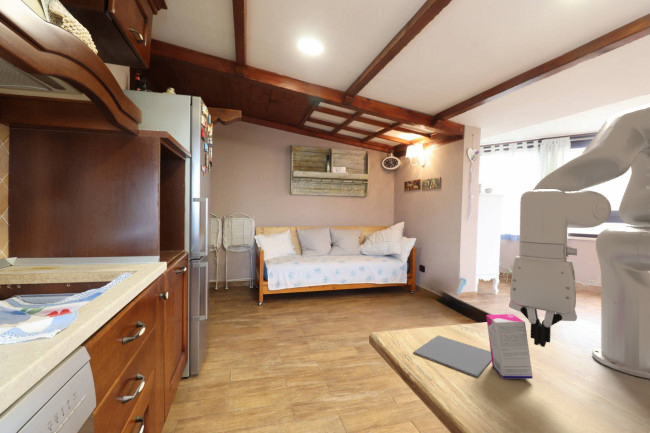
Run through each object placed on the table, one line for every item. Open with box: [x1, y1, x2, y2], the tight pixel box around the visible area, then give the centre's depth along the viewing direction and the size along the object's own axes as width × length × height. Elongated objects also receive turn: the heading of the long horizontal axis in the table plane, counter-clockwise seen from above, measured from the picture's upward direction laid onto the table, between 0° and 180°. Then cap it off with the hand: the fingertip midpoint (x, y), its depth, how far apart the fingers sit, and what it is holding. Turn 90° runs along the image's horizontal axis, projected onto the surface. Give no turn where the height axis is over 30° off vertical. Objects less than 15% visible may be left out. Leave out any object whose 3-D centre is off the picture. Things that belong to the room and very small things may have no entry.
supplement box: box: [485, 313, 533, 380], centre depth 60 cm, size 6×6×12 cm
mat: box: [413, 334, 492, 378], centre depth 68 cm, size 14×14×1 cm
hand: (540, 343), depth 56 cm, fingers closed
